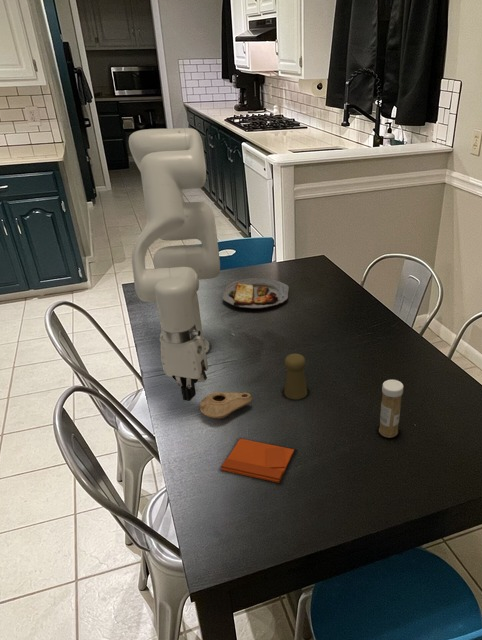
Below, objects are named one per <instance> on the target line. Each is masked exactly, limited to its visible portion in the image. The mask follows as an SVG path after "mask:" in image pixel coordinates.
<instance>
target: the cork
mask: <svg viewBox="0 0 482 640" xmlns="http://www.w3.org/2000/svg"><path fill="white" fill-rule="evenodd" d="M284 366H285V368H286V376H285V383H284V391H283V395H284V396H285V397H286V398H287V399H290V400H301V399H303V398H305V397H306V396H307V394H308V387H307V382H306V381H307V380H306V376H305V370H304V369H305V367H306V359H305V357H304V356H303V355H302V354H300V353H291V354H288V355H287V356H286V357H285V359H284Z"/></svg>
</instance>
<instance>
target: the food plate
mask: <svg viewBox="0 0 482 640" xmlns="http://www.w3.org/2000/svg"><path fill="white" fill-rule="evenodd" d="M223 289H224V290H223V291H222V295H221V298H222V300H223V302H225V303H227V304H228V305H230V306H232V307H236V308H238V309H239V308H240V309H241V308H242V309H255V310H258V309H259V310H260V309H267V308H270V307H276V306H279V305H281V304H284V302H287V300H288V298H289V291H290V289H289V285H288V284H287V283H284V282H281V281H279V280H276V279H272V278H267V277H264V278H263V277H251V278H244V279H239V280H235V281H233V282H231V283H229V284H228V285H226V286H225V287H224V288H223Z"/></svg>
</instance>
